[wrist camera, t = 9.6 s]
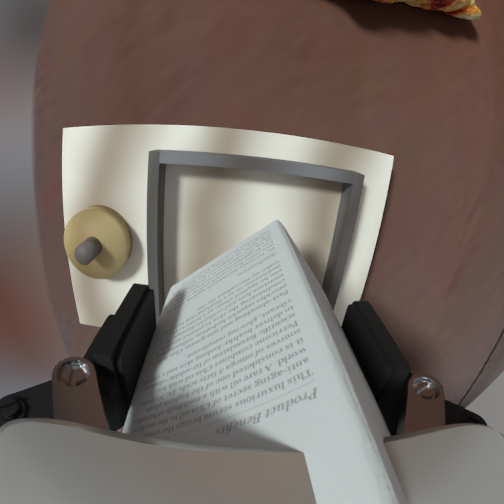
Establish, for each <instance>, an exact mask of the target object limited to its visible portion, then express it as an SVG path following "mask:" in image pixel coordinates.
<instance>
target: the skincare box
mask: <svg viewBox="0 0 504 504" xmlns="http://www.w3.org/2000/svg"><path fill="white" fill-rule="evenodd" d="M122 433H126V434H132V435H137V436H143V437H149V438H154V439H161V440H167V441H174V442H182V443H191V444H201V445H213V446H228V447H258V448H272V449H279V450H287V451H295V452H304V456H305V460H306V463H307V467H308V471H309V475H310V479H311V483H312V487H313V491H314V495H315V499H316V503H317V504H407V502H406V500H405V497H404V494H403V491H402V489H401V486H400V484H399V481H398V479H397V476H396V473H395V471H394V469H393V466H392V464H391V461H390V459H389V456H388V454H387V451H386V449H385V447H384V444H383V439H384V437H388V436H391V434H390V431H389V429H388V427H387V425H386V422H385V420H384V418H383V415H382V413H381V411H380V409H379V407H378V404H377V402H376V400H375V397H374V395H373V393H372V391H371V389H370V386H369V384H368V382H367V380H366V378H365V376H364V374H363V372H362V369H361V367H360V365H359V363H358V361H357V359H356V357H355V354H354V352H353V350H352V348H351V346H350V344H349V342H348V340H347V338H346V336H345V334H344V331H343V329H342V327H341V325H340V323H339V321H338V319H337V317H336V315H335V313H334V311H333V309H332V307H331V305H330V303H329V301H328V299H327V297H326V295H325V293H324V291H323V289H322V287H321V286H320V284H319V282H318V281H317V279H316V277H315V276H314V274H313V272H312V271H311V269H310V267H309V266H308V264H307V262H306V261H305V259H304V257H303V256H302V254H301V253H300V251H299V249H298V248H297V246H296V245H295V243H294V241H293V240H292V238H291V237H290V235H289V234H288V232H287V230H286V229H285V227H284V226H283V224H282V223H281V222H280V221H279V220H275V221H273V222H272V223H270V224H269V225H267V226H266V227H264V228H263V229H261V230H259V231H258V232H256V233H255V234H253V235H251V236H250V237H248V238H247V239H245V240H243V241H242V242H240V243H239V244H237V245H236V246H234V247H232V248H231V249H229V250H228V251H226V252H224V253H223V254H221V255H220V256H218V257H217V258H215V259H214V260H212V261H211V262H209V263H208V264H206V265H204V266H203V267H201V268H200V269H198V270H197V271H195V272H194V273H192V274H191V275H189V276H188V277H186V278H184V279H183V280H181V281H180V282H178V283H177V284H175V285H173V286H172V287H171V288H170V291H169V293H168V296H167V299H166V301H165V304H164V307H163V309H162V312H161V315H160V317H159V320H158V323H157V326H156V329H155V332H154V335H153V338H152V340H151V343H150V347H149V349H148V352H147V355H146V358H145V361H144V364H143V367H142V370H141V373H140V376H139V379H138V382H137V385H136V389H135V392H134V395H133V398H132V401H131V404H130V408H129V411H128V415H127V418H126V421H125V424H124V428H123V432H122Z"/></svg>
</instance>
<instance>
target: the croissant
mask: <svg viewBox="0 0 504 504" xmlns="http://www.w3.org/2000/svg"><path fill="white" fill-rule="evenodd" d="M374 1H378V2H382V3H394V2H405V3H406V4H408V5H410V6H415V7H420V8H423V9H425V10H442V11H443V12H444V13H445V14H448V15H450V16H454V17H457V18H461V19H466V20H474V19H477V18H479V17H480V16H481V12H480V10H479V8H478V7H477V6H476V5H475V2H474V0H374Z"/></svg>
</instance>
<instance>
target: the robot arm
mask: <svg viewBox="0 0 504 504" xmlns="http://www.w3.org/2000/svg"><path fill="white" fill-rule="evenodd" d="M341 327H342V329H343V331H344V334H345V336H346V338H347V340H348V342H349V344H350V346H351V348H352V350H353V352H354V354H355V357H356V359H357V361H358V363H359V365H360V367H361V369H362V372H363V374H364V376H365V378H366V380H367V382H368V384H369V386H370V389H371V391H372V393H373V395H374V397H375V400H376V402H377V404H378V407H379V409H380V411H381V413H382V415H383V418H384V420H385V422H386V425H387V427H388V429H389V431H390V434H391V436H388V437H384V439H383V444H384V447H385V449H386V451H387V454H388V456H389V459H390V461H391V464H392V466H393V469H394V471H395V473H396V476H397V479H398V481H399V484H400V486H401V489H402V491H403V494H404V497H405V500H406V502H407V504H504V435H503V434H501V433H499V432H498V431H497V430H495V429H494V428H492V427H490V426H487V424H486V422H485V421H484V419H483V418H482V417H480V416H479V415H477V414H475V413H473V412H470V411H469V410H466V409H465V408H463V407H460V406H458V405H456V404H453V403H451V402H449V401H447V400H445V399H444V390H443V387H442V385H441V384H440V383H439V382H438V381H437V380H436V379H435V378H433V377H431V376H429V375H425V374H416V375H414V376H412V374H411V372H410V370H411V368H410V366H409V364H408V363H407V361H406V360H405V358H404V356H403V355H402V353H401V351H400V350H399V348H398V347H397V345H396V343H395V342H394V340H393V339H392V337H391V335H390V334H389V332H388V331H387V329H386V328H385V326H384V325H383V323H382V321H381V320H380V318H379V317H378V315H377V314H376V312H375V311H374V309H373V308H372V306H371V305H370V303H369V302H368V301H354V302H353V303H352V304H349V305H348V307H347V310H346V313H345V316H344V320H343V323H342V326H341ZM155 329H156V313H155V296H154V290H153V289H150V288H149V285H145V284H137V283H134V284H133V285H132V287H131V288H130V290H129V291H128V293H127V295H126V296H125V298H124V300H123V301H122V303H121V305H120V306H119V308H118V310H117V311H116V313H115V315H112V314H111V315H109V316H108V317H107V318H106V320H105V322H104V323H103V325H102V327H101V328H100V330H99V332H98V333H97V335H96V337H95V339H94V340H93V342H92V344H91V345H90V347H89V349H88V351H87V352H86V354H85V356H84V358H81V357H69V358H65V359H63V360H61V361H60V362H58V364H56V365H55V367H54V368H53V370H52V380H50V381H48V382H45V383H42V384H39V385H36V386H34V387H31V388H28V389H25V390H22V391H19V392H16V393H13V394H10V395H7V396H5V397H3V398H1V400H0V504H317V503H316V499H315V495H314V491H313V487H312V483H311V479H310V475H309V471H308V467H307V463H306V460H305V456H304V452H295V451H287V450H279V449H272V448H258V447H228V446H213V445H201V444H191V443H182V442H174V441H167V440H161V439H154V438H149V437H143V436H137V435H132V434H126V433H121V432H117V431H116V430H118V429H120V428H122V426H124V424H125V421H126V418H127V415H128V411H129V408H130V404H131V401H132V398H133V395H134V392H135V389H136V385H137V382H138V379H139V376H140V373H141V370H142V367H143V364H144V361H145V358H146V355H147V352H148V349H149V347H150V343H151V340H152V338H153V335H154V332H155Z"/></svg>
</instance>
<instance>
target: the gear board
mask: <svg viewBox="0 0 504 504" xmlns="http://www.w3.org/2000/svg"><path fill="white" fill-rule="evenodd" d="M393 159H394V156H392V155H388V154H384V153H380V152H375V151H371V150H367V149H362V148H358V147H353V146H348V145H343V144H338V143H333V142H327V141H322V140H316V139H310V138H304V137H298V136H291V135H284V134H277V133H269V132H260V131H251V130H242V129H231V128H218V127H204V126H184V125H105V126H86V127H72V128H63V145H62V186H63V208H64V222H65V232H64V246H65V250H66V253H67V255H68V259H69V266H70V272H71V279H72V285H73V290H74V296H75V301H76V306H77V311H78V315H79V320H80V323H82V324H87V325H92V326H97V327H102V325H103V323H104V322H105V320H106V318H107V317H108V316H109V315H111V314H112V315H115V313H116V311H117V310H118V308H119V306H120V305H121V303H122V301H123V300H124V298H125V296H126V295H127V293H128V291H129V290H130V288H131V287H132V285H133V284H134V283H137V284H145V285H149V288H150V289H153V290H154V296H155V313H156V326H157V323H158V320H159V317H160V315H161V312H162V309H163V307H164V304H165V301H166V299H167V296H168V293H169V291H170V288H171V287H172V286H173V285H175V284H177V283H178V282H180V281H181V280H183V279H184V278H186V277H188V276H189V275H191V274H192V273H194V272H195V271H197V270H198V269H200V268H201V267H203V266H204V265H206V264H208V263H209V262H211V261H212V260H214V259H215V258H217V257H218V256H220V255H221V254H223V253H224V252H226V251H228V250H229V249H231V248H232V247H234V246H236V245H237V244H239V243H240V242H242V241H243V240H245V239H247V238H248V237H250V236H251V235H253V234H255V233H256V232H258V231H259V230H261V229H263V228H264V227H266V226H267V225H269V224H270V223H272V222H273V221H275V220H279V221H280V222H281V223H282V224H283V226H284V227H285V229H286V230H287V232H288V234H289V235H290V237H291V238H292V240H293V241H294V243H295V245H296V246H297V248H298V249H299V251H300V253H301V254H302V256H303V257H304V259H305V261H306V262H307V264H308V266H309V267H310V269H311V271H312V272H313V274H314V276H315V277H316V279H317V281H318V282H319V284H320V286H321V287H322V289H323V291H324V293H325V295H326V297H327V299H328V301H329V303H330V305H331V307H332V309H333V311H334V313H335V315H336V317H337V319H338V321H339V323H340V325H341V326H342V323H343V320H344V316H345V313H346V310H347V307H348V305H349V304H352V303H353V302H354V301H360V299H361V295H362V292H363V289H364V285H365V282H366V278H367V275H368V271H369V268H370V264H371V261H372V257H373V253H374V249H375V245H376V241H377V237H378V233H379V229H380V225H381V220H382V216H383V211H384V207H385V202H386V197H387V192H388V187H389V182H390V176H391V171H392V165H393Z"/></svg>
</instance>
